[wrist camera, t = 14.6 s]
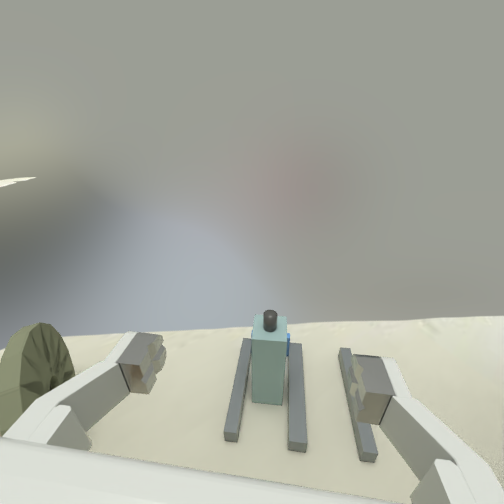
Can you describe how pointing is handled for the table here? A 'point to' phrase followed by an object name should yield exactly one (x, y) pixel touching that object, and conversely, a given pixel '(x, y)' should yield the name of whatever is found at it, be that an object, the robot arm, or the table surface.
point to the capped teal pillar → (268, 357)
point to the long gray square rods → (295, 401)
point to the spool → (31, 370)
